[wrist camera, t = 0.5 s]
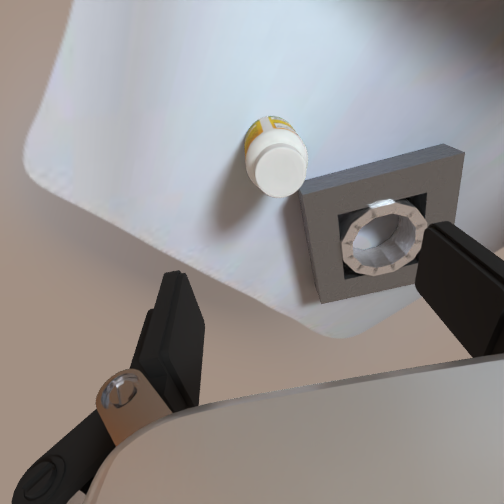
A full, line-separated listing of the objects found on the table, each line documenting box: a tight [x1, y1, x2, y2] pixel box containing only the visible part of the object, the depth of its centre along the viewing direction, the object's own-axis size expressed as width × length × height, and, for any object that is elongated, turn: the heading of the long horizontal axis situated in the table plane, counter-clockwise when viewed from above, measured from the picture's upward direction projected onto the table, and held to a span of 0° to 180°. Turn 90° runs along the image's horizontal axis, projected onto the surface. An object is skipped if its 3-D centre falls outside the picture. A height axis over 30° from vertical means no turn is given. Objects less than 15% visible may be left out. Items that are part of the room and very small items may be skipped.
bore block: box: [298, 144, 465, 304], centre depth 35 cm, size 16×16×4 cm
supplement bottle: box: [244, 116, 308, 198], centre depth 26 cm, size 5×5×10 cm
